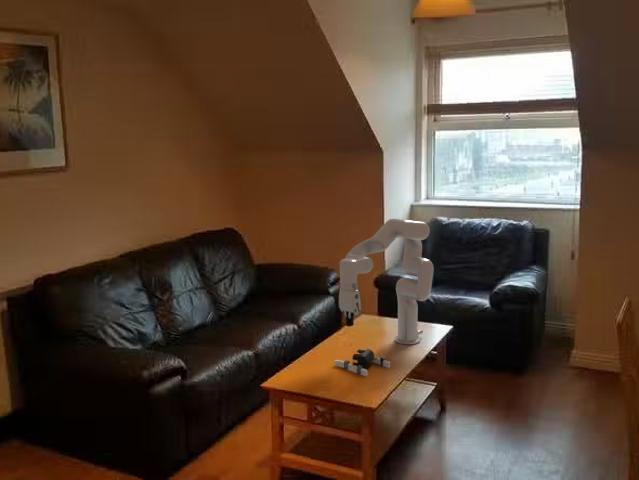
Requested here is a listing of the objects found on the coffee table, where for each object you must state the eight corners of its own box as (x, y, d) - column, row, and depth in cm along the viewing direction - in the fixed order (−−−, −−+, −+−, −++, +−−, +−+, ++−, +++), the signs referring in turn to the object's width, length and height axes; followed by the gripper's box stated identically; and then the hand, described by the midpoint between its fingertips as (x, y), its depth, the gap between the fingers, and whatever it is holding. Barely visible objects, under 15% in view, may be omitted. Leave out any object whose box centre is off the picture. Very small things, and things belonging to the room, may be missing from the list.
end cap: (367, 371, 293) (367, 356, 292) (352, 369, 295) (352, 354, 294) (374, 363, 302) (374, 349, 301) (359, 361, 304) (359, 347, 303)
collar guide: (362, 355, 311) (362, 348, 311) (392, 366, 298) (392, 358, 297) (333, 365, 300) (333, 358, 299) (363, 377, 286) (363, 369, 285)
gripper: (366, 287, 296) (367, 327, 299) (343, 281, 307) (344, 320, 310) (354, 291, 291) (355, 331, 294) (331, 285, 302) (332, 323, 305)
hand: (349, 325), depth 302 cm, fingers closed
